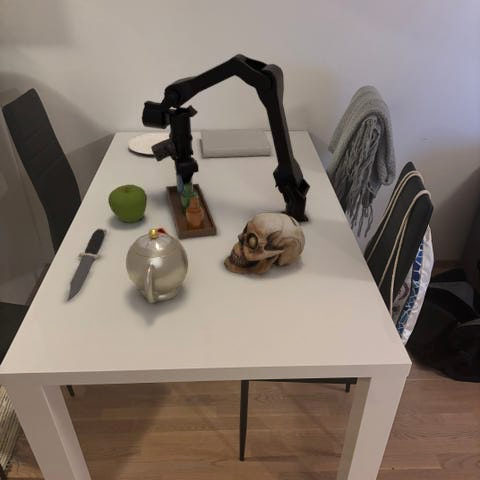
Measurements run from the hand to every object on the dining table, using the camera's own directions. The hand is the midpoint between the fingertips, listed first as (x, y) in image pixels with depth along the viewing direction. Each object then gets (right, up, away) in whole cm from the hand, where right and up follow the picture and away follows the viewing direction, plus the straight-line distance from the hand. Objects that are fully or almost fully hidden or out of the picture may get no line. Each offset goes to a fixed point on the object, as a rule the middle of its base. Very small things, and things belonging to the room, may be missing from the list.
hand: (184, 184), depth 142 cm
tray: (+2, -9, -3) cm, 10 cm away
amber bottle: (+4, -15, -11) cm, 20 cm away
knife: (-22, -27, -24) cm, 42 cm away
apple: (-14, -12, -6) cm, 20 cm away
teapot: (-2, -35, -33) cm, 48 cm away
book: (+14, +23, +35) cm, 45 cm away
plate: (-14, +24, +35) cm, 44 cm away
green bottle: (+2, -9, -4) cm, 10 cm away
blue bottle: (0, -2, +1) cm, 2 cm away
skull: (+22, -26, -22) cm, 41 cm away
